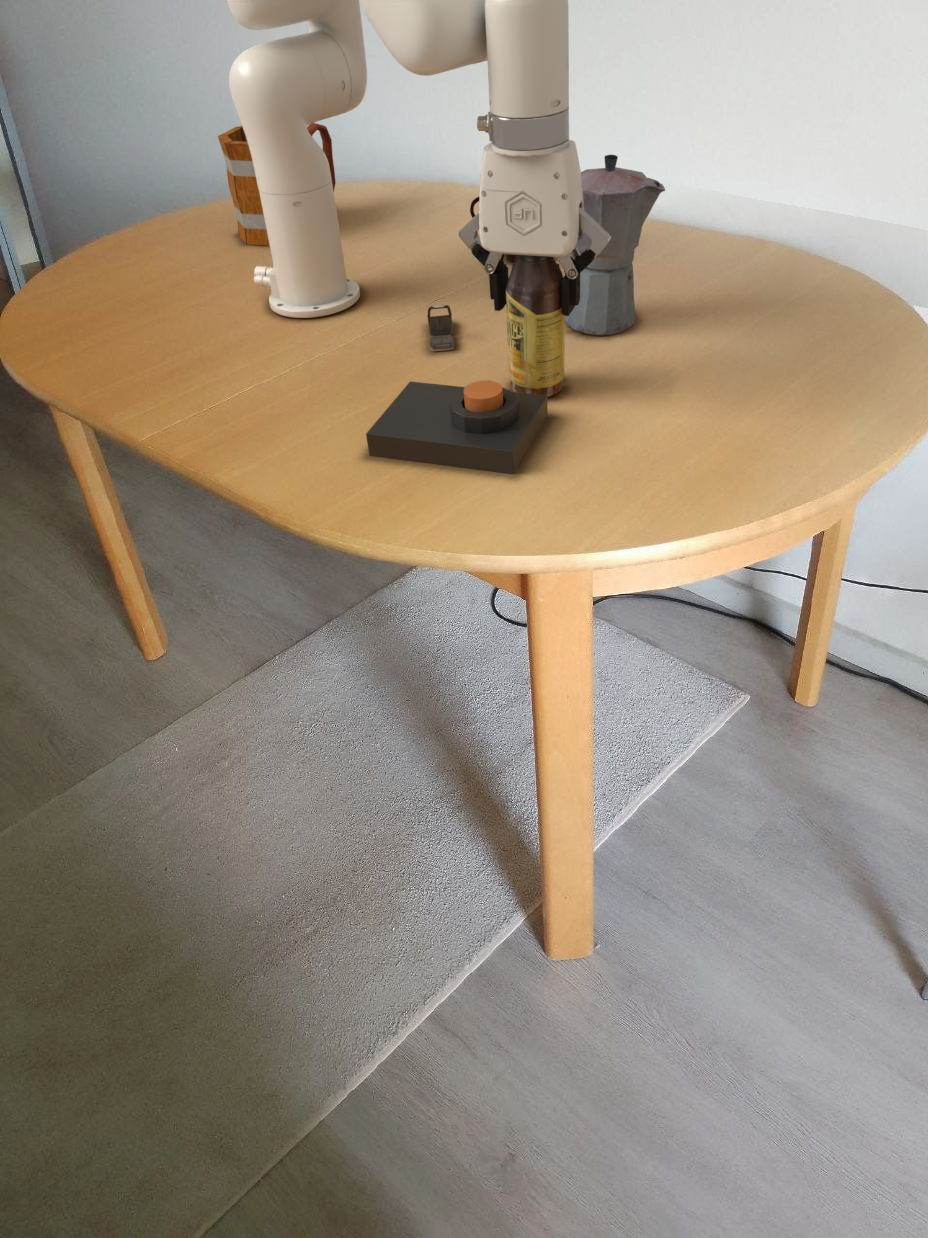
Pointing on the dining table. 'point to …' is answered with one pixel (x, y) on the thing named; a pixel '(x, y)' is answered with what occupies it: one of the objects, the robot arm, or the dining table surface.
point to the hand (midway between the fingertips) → (535, 306)
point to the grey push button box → (457, 429)
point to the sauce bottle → (535, 325)
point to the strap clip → (440, 330)
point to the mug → (255, 181)
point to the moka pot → (612, 247)
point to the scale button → (483, 396)
